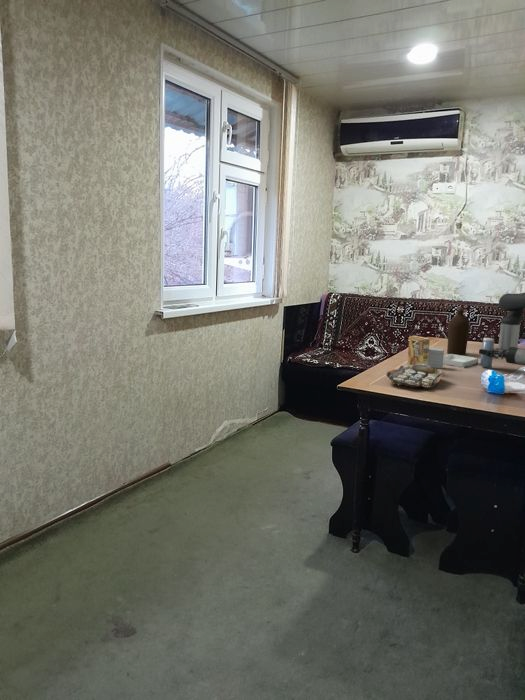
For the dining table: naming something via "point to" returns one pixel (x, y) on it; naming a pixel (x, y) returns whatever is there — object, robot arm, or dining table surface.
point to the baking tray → (415, 375)
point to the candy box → (418, 350)
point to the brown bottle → (458, 333)
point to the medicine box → (436, 357)
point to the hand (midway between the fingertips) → (482, 350)
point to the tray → (459, 360)
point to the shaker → (487, 345)
